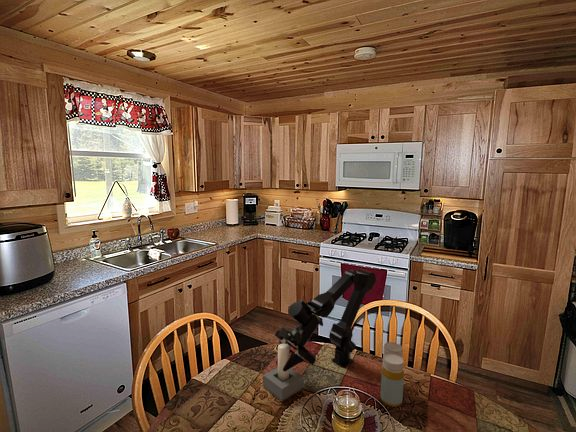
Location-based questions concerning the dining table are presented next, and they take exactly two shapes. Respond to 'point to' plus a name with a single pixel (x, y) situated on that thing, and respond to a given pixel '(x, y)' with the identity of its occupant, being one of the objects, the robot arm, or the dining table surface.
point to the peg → (283, 361)
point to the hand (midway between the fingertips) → (280, 367)
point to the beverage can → (392, 350)
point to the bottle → (392, 380)
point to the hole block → (282, 384)
